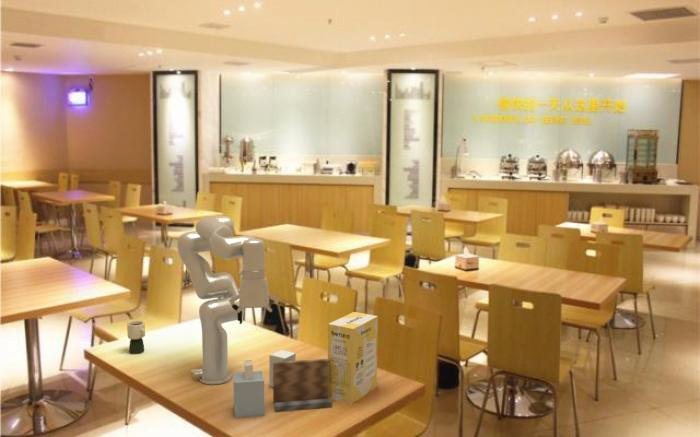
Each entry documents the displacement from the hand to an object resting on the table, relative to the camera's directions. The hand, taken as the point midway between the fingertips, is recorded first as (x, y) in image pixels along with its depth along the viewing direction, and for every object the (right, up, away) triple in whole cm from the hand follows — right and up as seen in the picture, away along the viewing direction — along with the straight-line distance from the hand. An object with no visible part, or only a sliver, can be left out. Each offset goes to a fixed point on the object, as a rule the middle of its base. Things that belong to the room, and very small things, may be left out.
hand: (254, 322), depth 224 cm
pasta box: (+34, -29, +16) cm, 48 cm away
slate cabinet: (-2, -31, -1) cm, 31 cm away
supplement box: (+7, -28, +21) cm, 36 cm away
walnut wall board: (+16, -30, +5) cm, 35 cm away
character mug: (-59, -22, +54) cm, 83 cm away
